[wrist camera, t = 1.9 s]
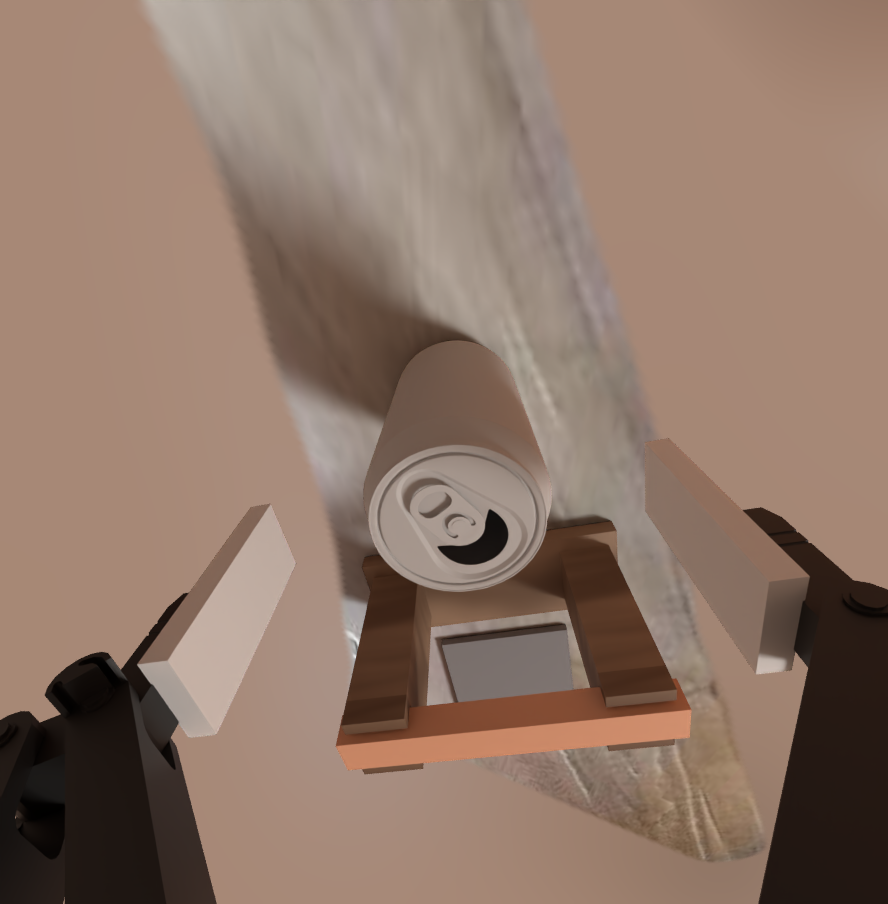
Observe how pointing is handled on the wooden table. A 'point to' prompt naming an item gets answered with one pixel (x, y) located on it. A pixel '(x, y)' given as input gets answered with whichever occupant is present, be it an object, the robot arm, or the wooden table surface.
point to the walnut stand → (528, 592)
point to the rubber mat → (509, 663)
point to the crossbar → (515, 728)
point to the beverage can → (457, 473)
